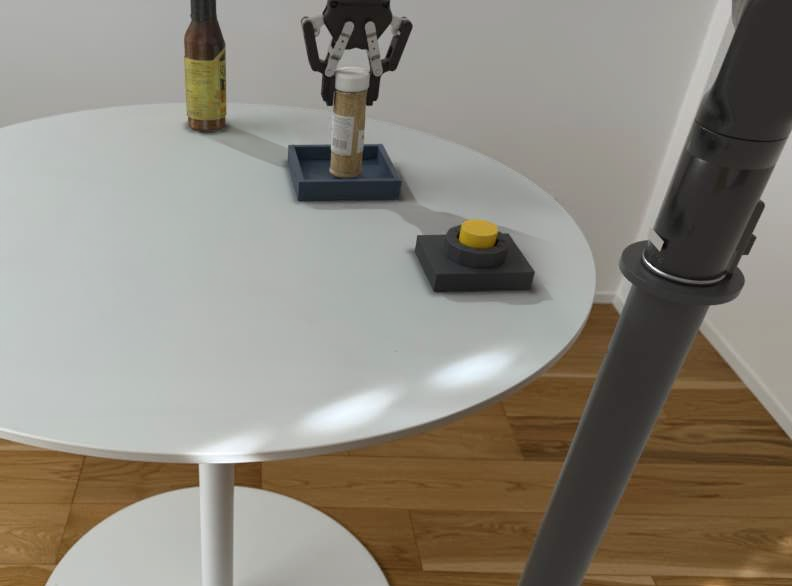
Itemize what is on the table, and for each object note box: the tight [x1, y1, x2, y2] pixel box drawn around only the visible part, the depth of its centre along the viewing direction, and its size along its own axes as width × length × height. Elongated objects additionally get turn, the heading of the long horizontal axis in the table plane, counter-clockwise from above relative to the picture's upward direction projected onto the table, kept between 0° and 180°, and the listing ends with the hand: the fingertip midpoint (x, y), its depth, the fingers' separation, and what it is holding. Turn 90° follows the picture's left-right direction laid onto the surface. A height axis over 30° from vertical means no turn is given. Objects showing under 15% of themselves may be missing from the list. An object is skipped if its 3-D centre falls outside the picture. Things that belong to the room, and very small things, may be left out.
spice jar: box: [329, 66, 370, 179], centre depth 103 cm, size 5×5×14 cm
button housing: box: [414, 224, 536, 292], centre depth 89 cm, size 11×9×4 cm
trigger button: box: [459, 218, 499, 249], centre depth 87 cm, size 4×4×2 cm
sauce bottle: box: [183, 0, 227, 132], centre depth 117 cm, size 6×6×20 cm
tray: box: [286, 143, 403, 202], centre depth 108 cm, size 14×13×3 cm
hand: (348, 103), depth 102 cm, fingers closed on spice jar, 4 cm apart
